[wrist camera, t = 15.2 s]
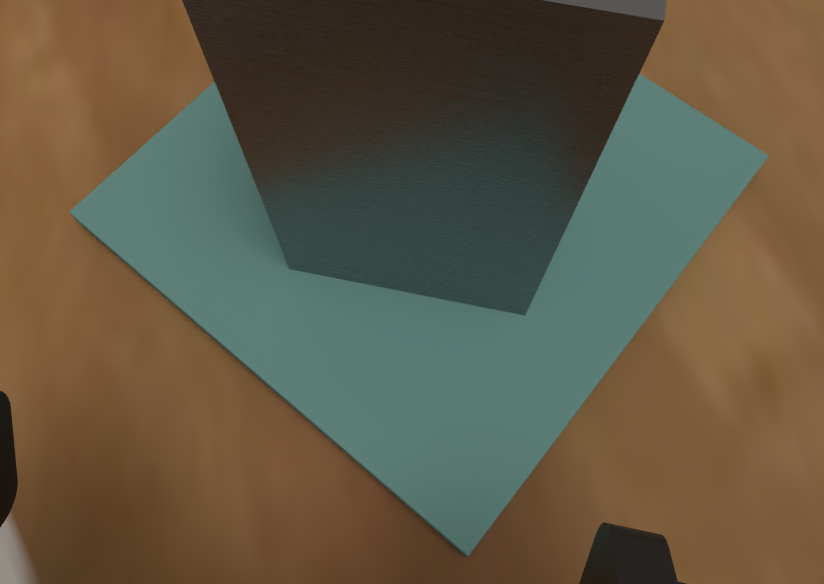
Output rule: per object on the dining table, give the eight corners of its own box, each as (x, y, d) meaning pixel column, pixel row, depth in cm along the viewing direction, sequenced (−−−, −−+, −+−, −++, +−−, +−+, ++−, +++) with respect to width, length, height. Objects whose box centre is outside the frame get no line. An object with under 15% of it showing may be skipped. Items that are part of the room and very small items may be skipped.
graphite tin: (345, 75, 22) (289, -368, 11) (557, 113, 21) (699, -313, 11) (289, 269, 19) (156, -65, 9) (525, 315, 19) (664, 20, 9)
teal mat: (395, -62, 25) (395, -81, 24) (756, 169, 22) (769, 155, 21) (81, 224, 21) (69, 212, 20) (465, 556, 18) (468, 555, 17)
